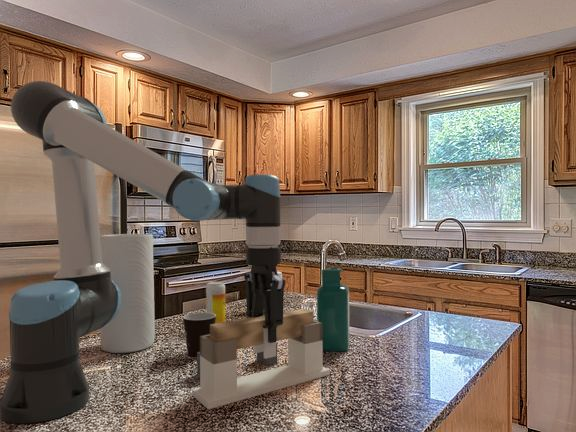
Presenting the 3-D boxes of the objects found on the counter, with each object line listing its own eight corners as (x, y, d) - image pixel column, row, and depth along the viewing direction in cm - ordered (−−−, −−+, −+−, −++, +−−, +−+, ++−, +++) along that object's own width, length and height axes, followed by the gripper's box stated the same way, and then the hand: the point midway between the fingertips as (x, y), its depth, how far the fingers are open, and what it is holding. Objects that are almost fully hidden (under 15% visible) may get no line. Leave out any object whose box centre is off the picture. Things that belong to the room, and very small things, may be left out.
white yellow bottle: (229, 328, 140) (229, 282, 140) (216, 332, 135) (216, 285, 135) (215, 326, 143) (215, 281, 143) (202, 330, 138) (202, 283, 138)
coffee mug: (209, 360, 109) (208, 320, 109) (177, 358, 111) (177, 319, 111) (224, 346, 121) (224, 310, 121) (196, 344, 122) (195, 309, 122)
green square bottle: (320, 341, 124) (319, 265, 124) (349, 343, 123) (349, 266, 123) (315, 352, 115) (314, 269, 115) (347, 353, 113) (346, 270, 113)
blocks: (206, 380, 95) (205, 358, 95) (197, 373, 100) (197, 352, 100) (277, 363, 106) (277, 343, 106) (266, 357, 110) (266, 338, 110)
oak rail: (217, 353, 85) (217, 328, 85) (210, 348, 88) (209, 324, 88) (313, 333, 98) (313, 311, 98) (304, 330, 101) (303, 308, 101)
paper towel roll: (95, 356, 113) (94, 236, 113) (106, 341, 127) (105, 234, 127) (152, 352, 116) (150, 235, 116) (157, 337, 130) (156, 233, 130)
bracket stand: (208, 409, 81) (207, 346, 81) (192, 395, 88) (191, 336, 88) (329, 374, 98) (329, 322, 98) (308, 364, 105) (308, 315, 105)
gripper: (300, 247, 88) (301, 361, 88) (258, 243, 102) (259, 342, 102) (269, 249, 84) (270, 369, 84) (230, 245, 98) (231, 347, 98)
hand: (264, 354), depth 93 cm, fingers closed on oak rail, 4 cm apart
